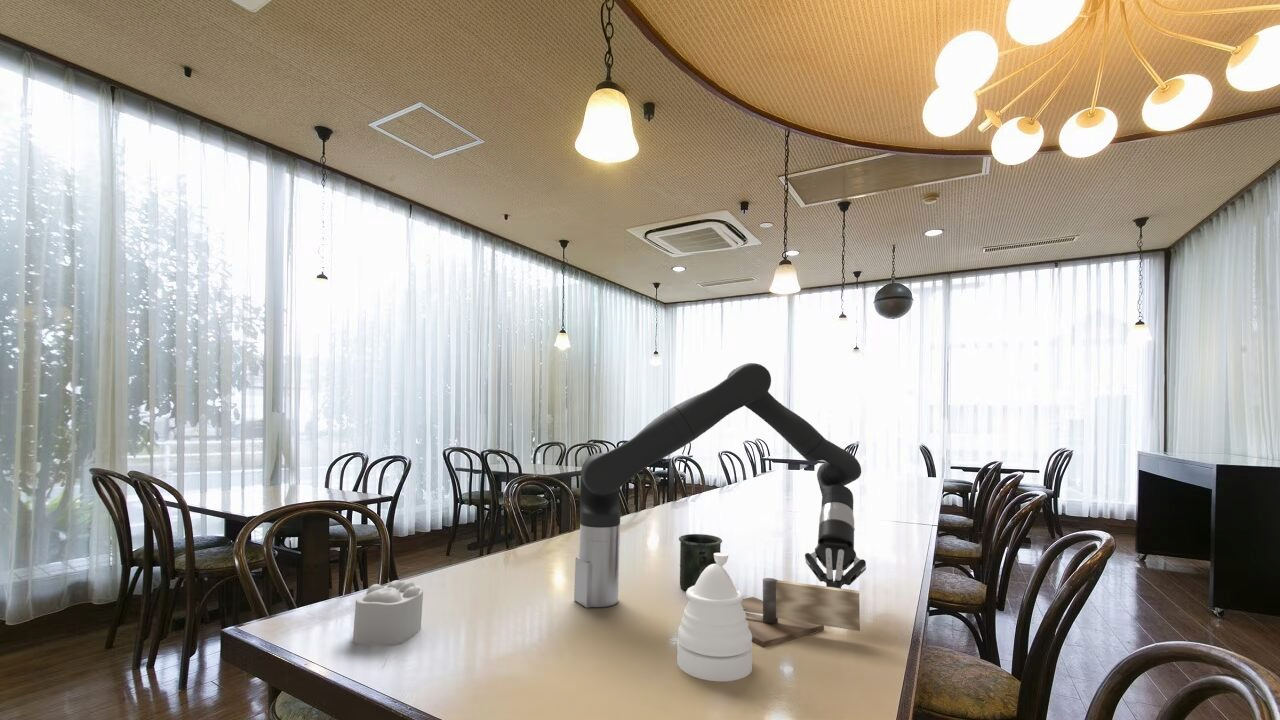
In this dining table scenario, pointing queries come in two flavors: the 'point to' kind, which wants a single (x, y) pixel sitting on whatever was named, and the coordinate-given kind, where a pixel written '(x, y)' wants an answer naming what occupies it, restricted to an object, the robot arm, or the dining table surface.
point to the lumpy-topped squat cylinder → (388, 614)
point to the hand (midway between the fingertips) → (833, 600)
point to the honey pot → (714, 628)
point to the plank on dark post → (809, 604)
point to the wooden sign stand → (774, 626)
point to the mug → (696, 556)
